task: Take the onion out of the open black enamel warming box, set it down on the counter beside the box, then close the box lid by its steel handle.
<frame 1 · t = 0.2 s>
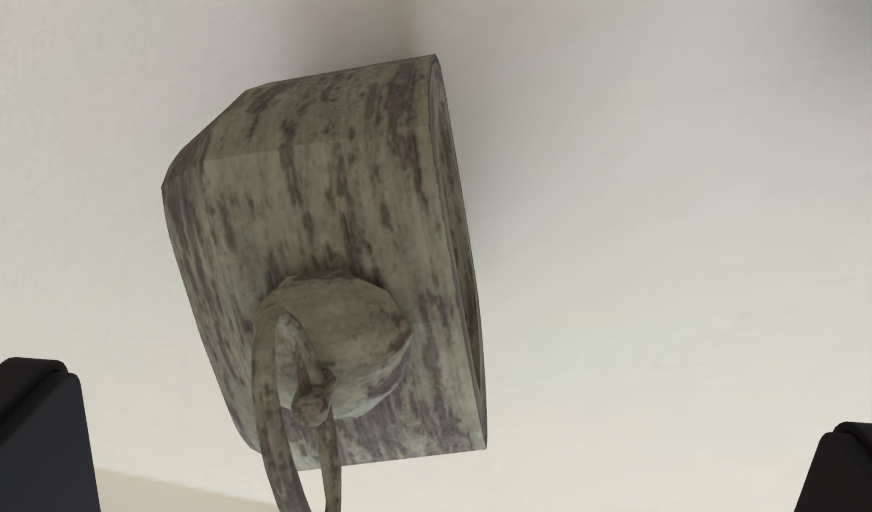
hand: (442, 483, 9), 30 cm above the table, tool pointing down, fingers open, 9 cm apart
tabletop clock: (381, 176, 39), on the table
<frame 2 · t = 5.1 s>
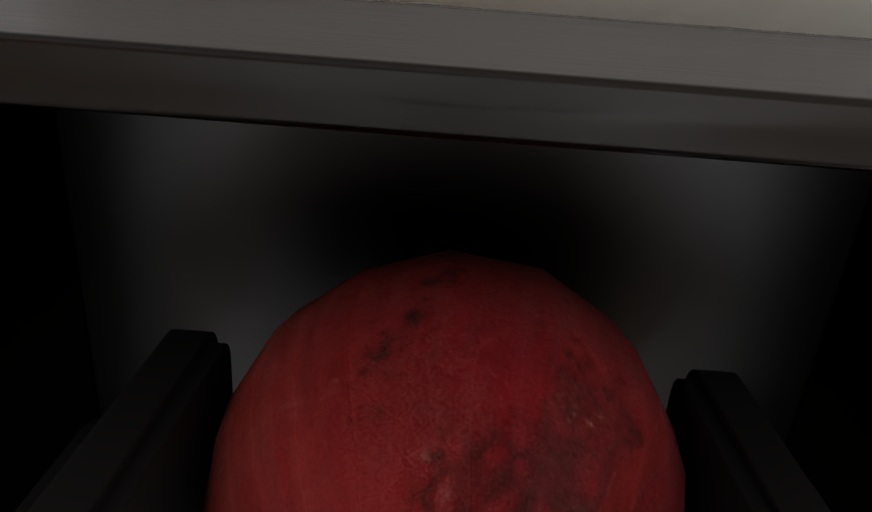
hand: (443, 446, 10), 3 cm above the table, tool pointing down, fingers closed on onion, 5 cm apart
onion: (448, 331, 12), resting on warmer, touching gripper
warmer: (437, 453, 14), on the table
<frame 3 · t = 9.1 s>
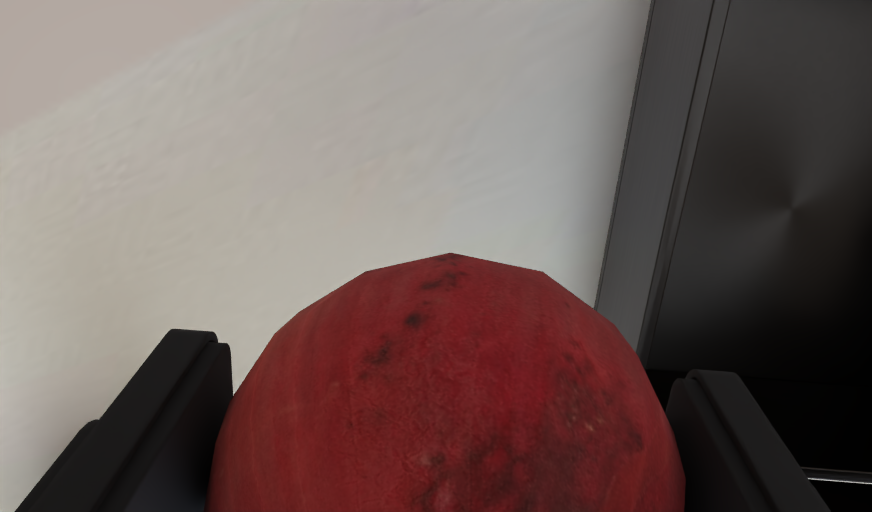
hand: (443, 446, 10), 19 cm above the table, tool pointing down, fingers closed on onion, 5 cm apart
onion: (448, 333, 12), point 16 cm above the table, touching gripper
warmer: (786, 204, 28), on the table
when the fingers open (3 cm above the table, at t = 13.1 s): onion stays where it is, on the table.
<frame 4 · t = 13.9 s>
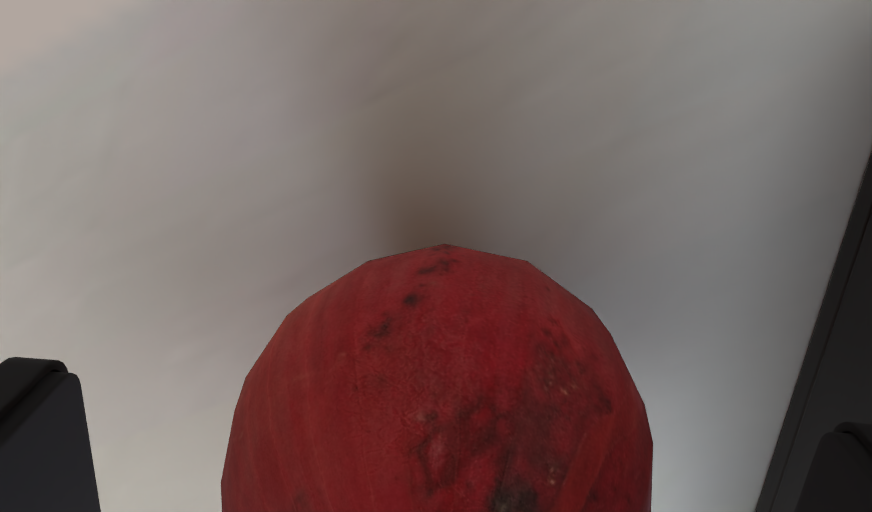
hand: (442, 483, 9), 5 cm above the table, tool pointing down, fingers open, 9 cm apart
onion: (444, 323, 13), on the table
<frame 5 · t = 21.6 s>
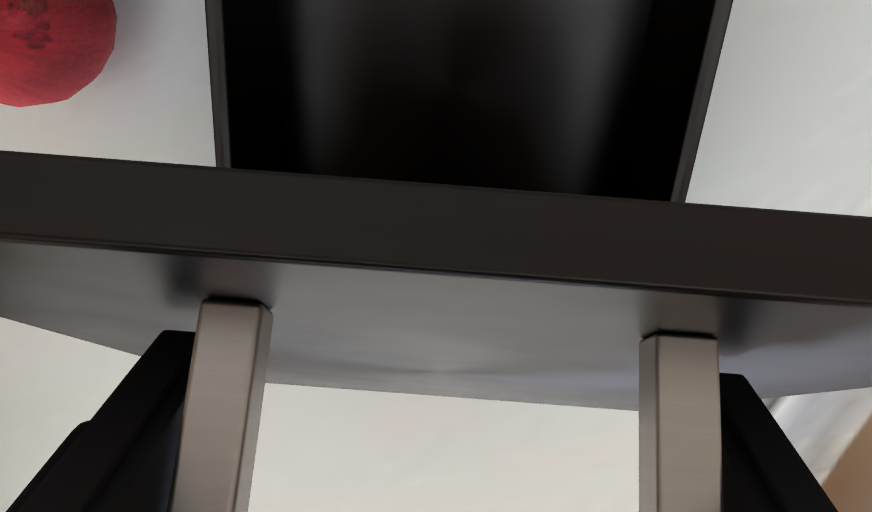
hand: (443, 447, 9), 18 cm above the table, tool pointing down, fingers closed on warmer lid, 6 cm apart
warmer: (456, 84, 26), on the table
warmer lid: (434, 473, 14), point 15 cm above the table, hinge at 50.2°, touching gripper
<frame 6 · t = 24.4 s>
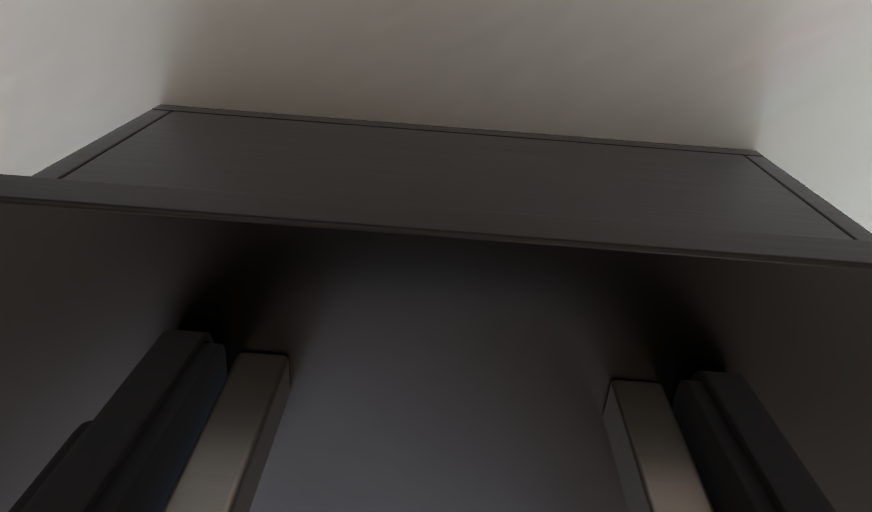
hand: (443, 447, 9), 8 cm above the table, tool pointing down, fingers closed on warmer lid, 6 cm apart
warmer: (433, 420, 20), on the table
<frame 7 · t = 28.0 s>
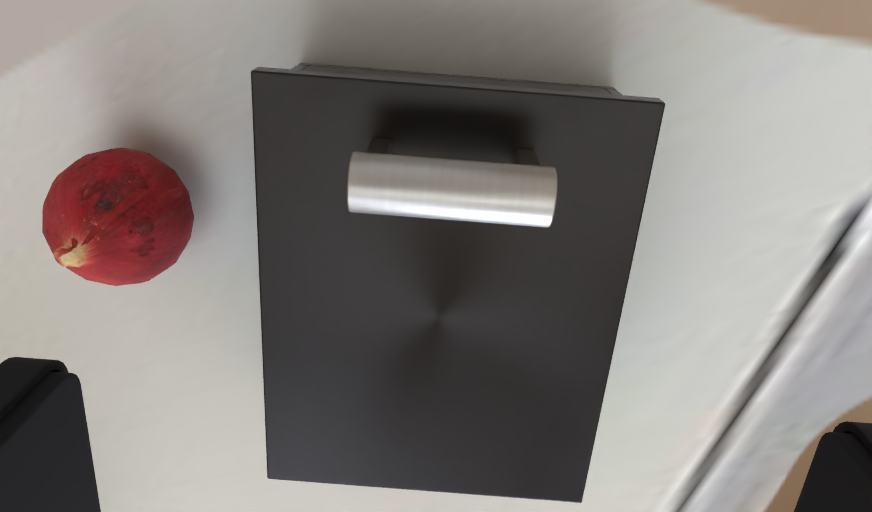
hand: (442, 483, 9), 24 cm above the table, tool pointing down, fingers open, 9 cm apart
onion: (157, 189, 33), on the table
warmer: (442, 251, 34), on the table
warmer lid: (437, 344, 25), point 10 cm above the table, hinge at 1.4°
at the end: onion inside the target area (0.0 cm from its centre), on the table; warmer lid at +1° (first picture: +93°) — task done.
